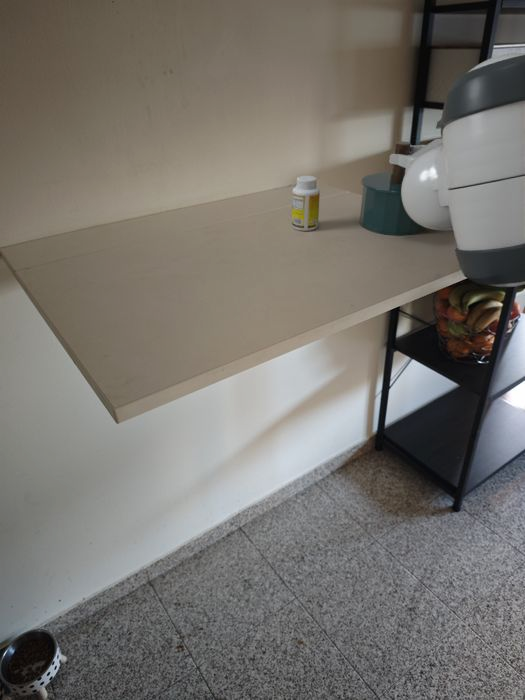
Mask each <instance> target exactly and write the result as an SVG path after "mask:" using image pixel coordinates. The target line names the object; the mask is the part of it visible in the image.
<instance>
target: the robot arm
mask: <svg viewBox="0 0 525 700" xmlns="http://www.w3.org/2000/svg"><path fill="white" fill-rule="evenodd" d="M442 108H443V109H442V113H441V118H440V119H439V120H438V121H437V122H436V126H435V129H436V130H438V129H440V136H441V138H435V139H433V140H432V141H431V142H428V144H416V145H412V144H411V145H410V152H409V155H402V154H401V153H394V152H393V153H391V154H389V159H388V160H389V161H388V162H389V164H391V165H392V164H396V165H399V166H402V167H404V168H406V171H405V176H404V178H403V182H402V187H401V197H402V202H403V206H404V208H405V210H406V212H407V214H408V215H409V216H410V218H411V219H412V220H414V221H415V222H416V223H417V224H419V225H421V226H423V227H425V229H429V230H434V231H453V235H454V240H455V242H456V246H457V248H456V249H455V250H454V252H455V256H456V260H457V261H458V266H459V267H460V270H461V273H462V274H463V276H464V277H465V278H466V279H468V280H469V281H472V282H473V283H475V284H477V285H487V286H490V287H491V286H492V287H498V288H512V287H518V286H523V285H525V53H523V52H514V53H512V52H511V53H505V54H501V55H497V56H494V57H491V58H489V59H486V60H484V61H482V62H481V63H479V64H476V66H474V67H473V68H471V69H470V70H468V71H467V72H465V73H464V74H462V75H460V76H459V77H457V78H456V80H455V81H454V82H453V84H452V86H451V87H450V89H449V91H448V93H447V94H446V96H445V100H444V104H443V107H442Z"/></svg>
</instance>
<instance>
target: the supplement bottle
mask: <svg viewBox="0 0 525 700" xmlns="http://www.w3.org/2000/svg"><path fill="white" fill-rule="evenodd" d="M295 184H296V186H294V187H293V189H292V198H291V199H292V200H291V202H292V203H291V206H292V207H291V226H292V228H293V229H295V230H297V231H300V232H310V231H313V230H315V229H317V228H318V227H319V213H320V197H321V196H320V193H321V190H320V188H319V187H318V186H317V177H315V176H312V175H301V176H298V177H297V178H296V183H295Z"/></svg>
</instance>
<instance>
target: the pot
mask: <svg viewBox="0 0 525 700" xmlns="http://www.w3.org/2000/svg"><path fill="white" fill-rule="evenodd" d="M362 186H363V185H362ZM359 224H360V226H361V227H362V228H364V229H365V230H368V231H369V232H372V233H376V234H380V235H388V236H409V235H415V234H418V233H420V232H422V231H424V230H425V229H426V227H423V226H421V225H419V224H417V223H416V222H415V221H414V220H412V219H411V218H410V216H409V215H408V214H407V212H406V210H405V208H404V206H403V202H402V197H401V194H390V193H383V192H378V191H374V190H371V189H368V188H366V187H364V186H363V188H362V195H361V204H360V215H359Z"/></svg>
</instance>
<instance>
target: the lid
mask: <svg viewBox="0 0 525 700" xmlns="http://www.w3.org/2000/svg"><path fill="white" fill-rule="evenodd" d="M410 145H412V143H411V142H409V141H402V140H401V141H396V142H394V148H393V153H401V154H402V155H409V152H410ZM405 171H406V168H404V167H402V166H399V165H396V164H391V171H390V172H377V173H371V174H367V175H364V176H363V177H362V179H361V182H360V183H361V185H362V186H364V187H366V188H368V189H371V190H374V191H378V192H383V193H390V194H401V187H402V182H403V178H404V176H405Z"/></svg>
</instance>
